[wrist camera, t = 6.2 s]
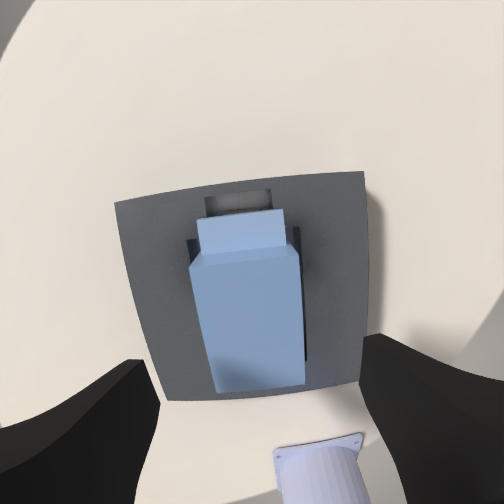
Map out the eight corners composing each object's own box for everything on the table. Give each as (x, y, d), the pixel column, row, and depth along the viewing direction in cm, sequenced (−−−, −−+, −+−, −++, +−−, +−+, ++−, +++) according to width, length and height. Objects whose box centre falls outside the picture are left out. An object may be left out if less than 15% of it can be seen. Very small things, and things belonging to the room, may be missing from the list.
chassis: (349, 358, 17) (361, 379, 15) (175, 377, 17) (167, 400, 15) (346, 173, 14) (363, 171, 12) (133, 199, 15) (114, 202, 12)
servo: (291, 351, 16) (305, 405, 12) (228, 358, 17) (222, 414, 12) (279, 204, 14) (294, 212, 10) (203, 213, 14) (181, 227, 10)
